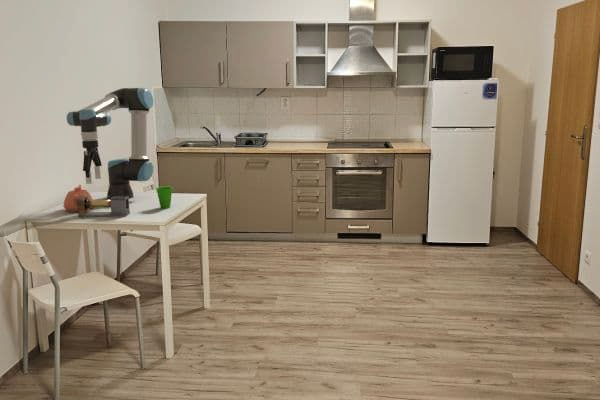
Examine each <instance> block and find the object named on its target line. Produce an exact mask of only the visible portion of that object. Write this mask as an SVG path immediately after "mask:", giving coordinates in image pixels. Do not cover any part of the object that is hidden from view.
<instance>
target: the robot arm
mask: <svg viewBox="0 0 600 400" xmlns="http://www.w3.org/2000/svg"><path fill="white" fill-rule="evenodd" d="M153 105H154V98H153V94H152V92H151V91H150V90H149V89H148V88H145V87H144V88H142V87H124V88H119V89H116V90H114V91H111V92H109V93H107V94H106V95H104V98H101V99H100V100H98V101H95V102H94V103H91V104H89V105H88V106H86V107H84V108H82V109H80V110H76V111H75V110H73V111H69V112H68V113H67V114H66V122H67V124H68V126H71V127H80V132H81V133H80V135H81V140H82V141H81V142H82V143H81V144H82V148H83V149H86V150H84V151H83V162H82V163H83V166H82V171H83V172H85V173H84V174H85V184H86V185H87V184H88V185H91V184H93V177H92V176H93V175H92V170H91V168H92V163H93V164H94V166H93V168H94V175H95V176H94V177H95V179H96V180H98V179H99V180H100V179H102V175H101V174H102V173H101V167H102V166H103V165H102V161H101V157H100V153H99V148H98V147H99V140H98V138H99V137H98V128H97V127H106V126H108V125H111V122H112V117H111V114H110V113H109V112H111V111H117V110H118V109H128V112H129V113H130V115H131V116H130V117H131V118H130V121H131V122H130V125H131V126H130V127H131V129H130V132H131V136H130V138H131V139H130V140H131V141H130V144H131V146H130V148H131V155H130V156H129V157H128V158H127V157H126V158H118V159H111V160H108V162H107V174H108V190H107V193H106V198H107V200H110V199H111V198H112V197H114V196H129V199H132V198H134V191H133V189H132V187H131V182H148V181H149V180H150V179H151V178H152V177H153V174H154V165H153V163H152V162H151V161H150V158H149V157H148V156H147V154H148V153H147V142H148V141H147V132H148V131H147V128H148V127H147V126H148V125H147V121H148V119H147V116H148V114H149V113H150V109H152V107H153ZM130 181H131V182H130Z"/></svg>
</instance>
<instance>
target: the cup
mask: <svg viewBox="0 0 600 400" xmlns="http://www.w3.org/2000/svg"><path fill="white" fill-rule="evenodd" d="M173 188H174V187H173V186H158V187H156V188H155V190H156V193H157V197H158V200H159V202H158V203H159V205H160V206H159V207H160V209H165V210H166V209H170V208H171V203H172V195H173V194H172V193H173Z"/></svg>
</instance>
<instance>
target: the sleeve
mask: <svg viewBox="0 0 600 400" xmlns="http://www.w3.org/2000/svg"><path fill="white" fill-rule="evenodd" d="M109 200H110V202H111V208H110V212H111V215H126V217H127V216H129V215H130V214H131V210H130V198H129V196H114V197H112V198H111V199H109ZM127 214H128V215H127Z"/></svg>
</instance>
